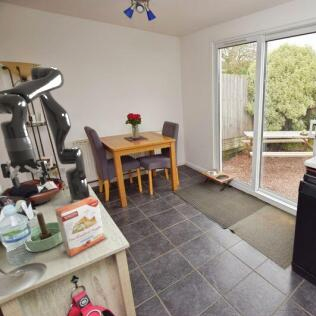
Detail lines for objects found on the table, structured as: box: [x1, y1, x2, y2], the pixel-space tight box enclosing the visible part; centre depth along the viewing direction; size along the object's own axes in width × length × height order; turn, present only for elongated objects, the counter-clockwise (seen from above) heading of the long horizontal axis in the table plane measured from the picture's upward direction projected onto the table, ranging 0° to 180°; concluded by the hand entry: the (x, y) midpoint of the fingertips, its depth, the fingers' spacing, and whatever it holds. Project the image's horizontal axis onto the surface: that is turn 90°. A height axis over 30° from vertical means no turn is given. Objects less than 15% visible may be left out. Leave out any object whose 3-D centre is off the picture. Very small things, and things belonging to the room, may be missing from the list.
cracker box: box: [54, 196, 105, 257], centre depth 95 cm, size 14×6×21 cm, turn 148°
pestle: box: [35, 212, 52, 240], centre depth 97 cm, size 4×4×14 cm
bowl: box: [25, 221, 63, 253], centre depth 99 cm, size 14×14×6 cm
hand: (30, 185), depth 91 cm, fingers open, 8 cm apart
